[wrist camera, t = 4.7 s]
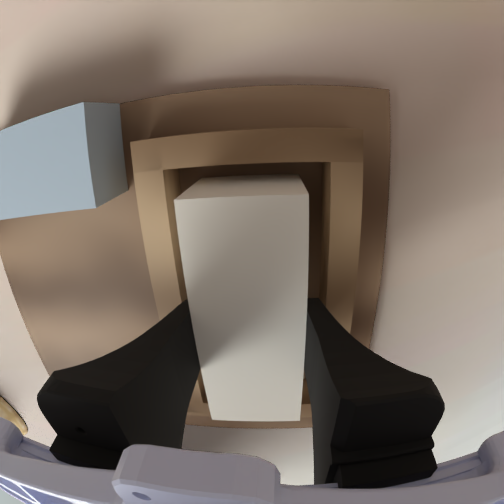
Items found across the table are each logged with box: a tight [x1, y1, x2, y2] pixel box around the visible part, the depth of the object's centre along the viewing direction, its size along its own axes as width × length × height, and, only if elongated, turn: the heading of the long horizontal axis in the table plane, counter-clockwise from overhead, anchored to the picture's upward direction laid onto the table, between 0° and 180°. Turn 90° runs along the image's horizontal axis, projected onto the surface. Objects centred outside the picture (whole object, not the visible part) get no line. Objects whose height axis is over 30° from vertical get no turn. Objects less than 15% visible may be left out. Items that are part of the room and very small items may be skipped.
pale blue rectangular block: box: [0, 102, 128, 220], centre depth 12 cm, size 4×9×3 cm, turn 93°
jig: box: [0, 85, 390, 428], centre depth 15 cm, size 20×22×3 cm
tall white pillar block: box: [174, 174, 309, 421], centre depth 13 cm, size 10×4×4 cm, turn 3°
